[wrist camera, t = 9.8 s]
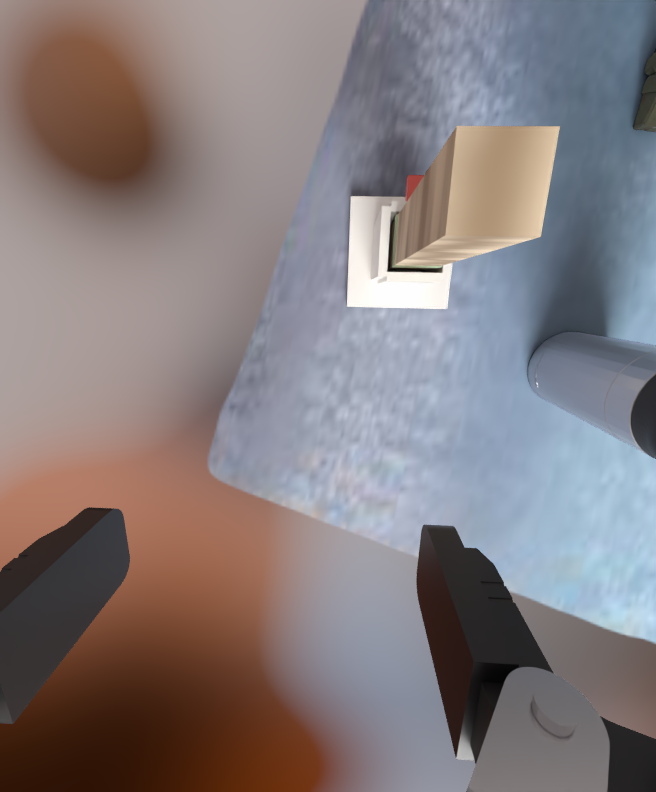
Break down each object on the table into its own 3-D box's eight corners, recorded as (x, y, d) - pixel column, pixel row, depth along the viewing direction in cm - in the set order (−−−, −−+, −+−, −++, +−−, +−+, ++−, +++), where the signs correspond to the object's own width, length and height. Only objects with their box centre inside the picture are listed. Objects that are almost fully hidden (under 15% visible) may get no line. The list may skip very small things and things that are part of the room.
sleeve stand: (455, 200, 41) (495, 166, 30) (443, 308, 44) (476, 313, 33) (350, 199, 41) (352, 165, 30) (346, 306, 45) (347, 310, 34)
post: (433, 223, 35) (563, 119, 14) (429, 270, 36) (542, 239, 15) (390, 222, 35) (454, 118, 14) (387, 269, 36) (442, 237, 15)
